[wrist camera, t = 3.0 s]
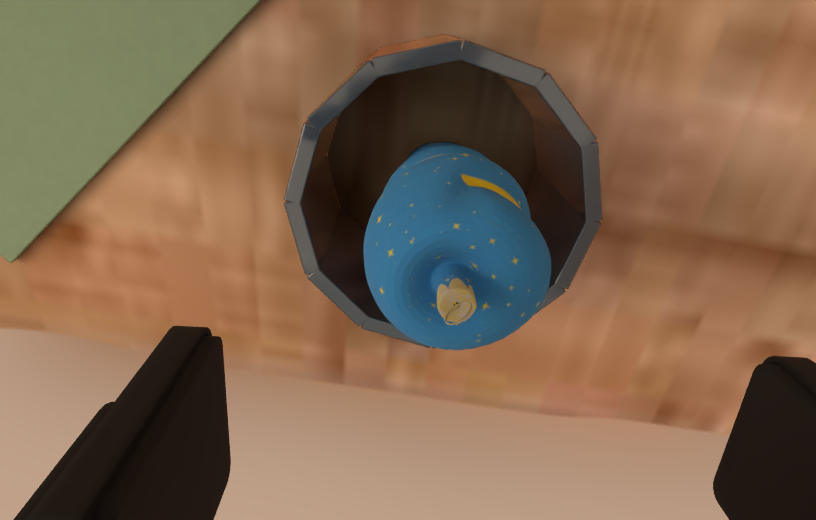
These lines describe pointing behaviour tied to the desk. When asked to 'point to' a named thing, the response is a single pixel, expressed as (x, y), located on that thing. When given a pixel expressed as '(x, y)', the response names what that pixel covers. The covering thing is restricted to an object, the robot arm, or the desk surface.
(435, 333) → the ornament
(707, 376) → the desk surface
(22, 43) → the mat
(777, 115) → the desk surface
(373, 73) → the crock
